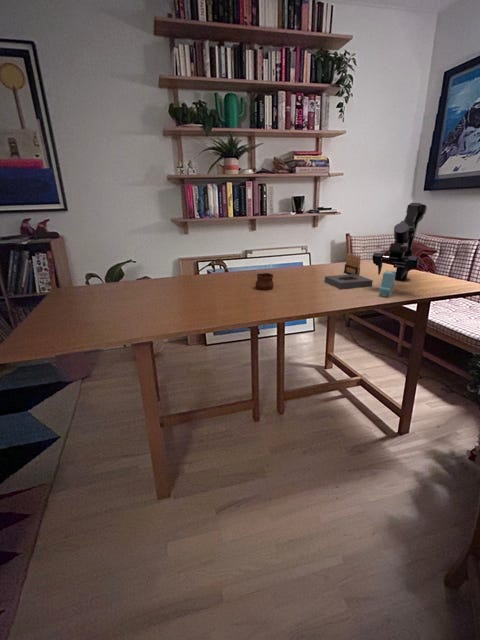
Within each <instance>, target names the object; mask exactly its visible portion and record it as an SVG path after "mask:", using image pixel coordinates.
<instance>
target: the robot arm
mask: <svg viewBox="0 0 480 640" xmlns="http://www.w3.org/2000/svg"><path fill="white" fill-rule="evenodd" d="M427 209H428V207H427V205H425V204H422V203H420V202H411V203H409V204H407V207H406V215H405V217H404V220H401V221H400V223H396V224H395V226H394V227H393V239H394V242H392V243H390V245H389V249H388V255H387V256H386V255H384V253H383V252H374V253H373V254H372V263H373V264H374V265H375V266H377V271H378V273H377V274H378V276H380V274H381V272H382V268H383V263H384V262H390V263H393V269H394V268H395V272H396V276H395V281H400V282H405V281H410V278H408V274H409V272H410V271H414V270H417V269H418V267H419V260H420V257H418V256H416V255H415V256H414V255H413V251H412V247H413V243H414V240H415V236H416V232H417V228H418V226H419V225H418V224H419V222H421V221H422V220H423V219H424V215H426V213H427Z"/></svg>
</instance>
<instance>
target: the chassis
mask: <svg viewBox="0 0 480 640" xmlns="http://www.w3.org/2000/svg"><path fill="white" fill-rule="evenodd" d="M373 281H374V280H373V279H369V278H367V277H364V276H361V275H360V274H359V275H356V274H340V275H326V276H324V281H323V282H324V283H325V284H328V285H330V286H332V287H334V288H336V289H339V290H347V289H359V288H369V287H371V288H372V286H373Z"/></svg>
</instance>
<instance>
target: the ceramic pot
mask: <svg viewBox="0 0 480 640" xmlns="http://www.w3.org/2000/svg"><path fill="white" fill-rule="evenodd" d="M273 278H274V274H272V273H269V272H264V273H257V274H256V281H255V288H256V290H258V291H259V290H260V291H271V290H273V289H274V285H275V286H276V284H274V281H273Z"/></svg>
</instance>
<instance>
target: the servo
mask: <svg viewBox="0 0 480 640" xmlns="http://www.w3.org/2000/svg"><path fill="white" fill-rule="evenodd" d="M395 276H396V271H390V270H385V272H383V274H382V281H381V285H380V287H379V290H378V291H380V292H379V296H381V297H385V298H386V297H388V298H390V297H391V296H392V294H393V289H394V287H395V281H396V280H395Z"/></svg>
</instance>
